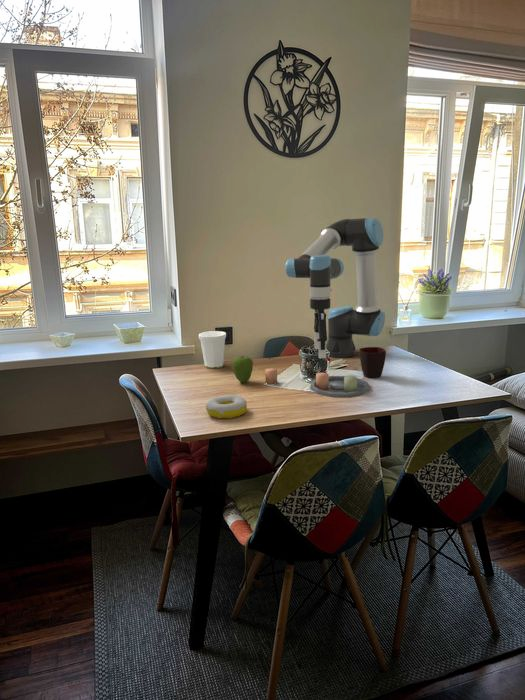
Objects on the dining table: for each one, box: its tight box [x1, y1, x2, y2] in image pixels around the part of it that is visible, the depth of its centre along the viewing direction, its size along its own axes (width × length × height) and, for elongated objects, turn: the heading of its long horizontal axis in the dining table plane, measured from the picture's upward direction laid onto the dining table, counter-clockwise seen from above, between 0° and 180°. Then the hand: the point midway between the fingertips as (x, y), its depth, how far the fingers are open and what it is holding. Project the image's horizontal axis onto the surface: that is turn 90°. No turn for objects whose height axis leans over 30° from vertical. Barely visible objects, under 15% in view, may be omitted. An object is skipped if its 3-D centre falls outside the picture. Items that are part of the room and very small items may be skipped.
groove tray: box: [309, 375, 370, 398], centre depth 195 cm, size 22×22×2 cm
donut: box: [205, 394, 248, 419], centre depth 174 cm, size 14×14×5 cm
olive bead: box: [344, 375, 358, 393], centre depth 189 cm, size 5×5×6 cm
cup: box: [198, 330, 227, 368], centre depth 231 cm, size 12×12×15 cm
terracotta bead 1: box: [264, 367, 278, 385], centre depth 205 cm, size 5×5×6 cm
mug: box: [359, 346, 387, 379], centre depth 209 cm, size 10×14×12 cm
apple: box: [231, 355, 254, 384], centre depth 206 cm, size 9×8×12 cm
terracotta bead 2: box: [315, 372, 330, 390], centre depth 194 cm, size 5×5×6 cm
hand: (320, 353), depth 192 cm, fingers open, 13 cm apart
